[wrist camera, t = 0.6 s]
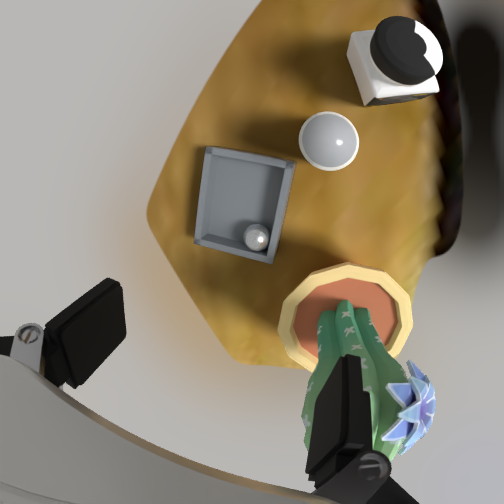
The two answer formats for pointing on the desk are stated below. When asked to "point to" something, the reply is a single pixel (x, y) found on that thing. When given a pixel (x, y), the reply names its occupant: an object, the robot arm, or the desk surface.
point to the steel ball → (256, 237)
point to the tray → (242, 200)
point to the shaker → (328, 141)
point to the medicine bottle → (395, 62)
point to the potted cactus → (359, 348)
